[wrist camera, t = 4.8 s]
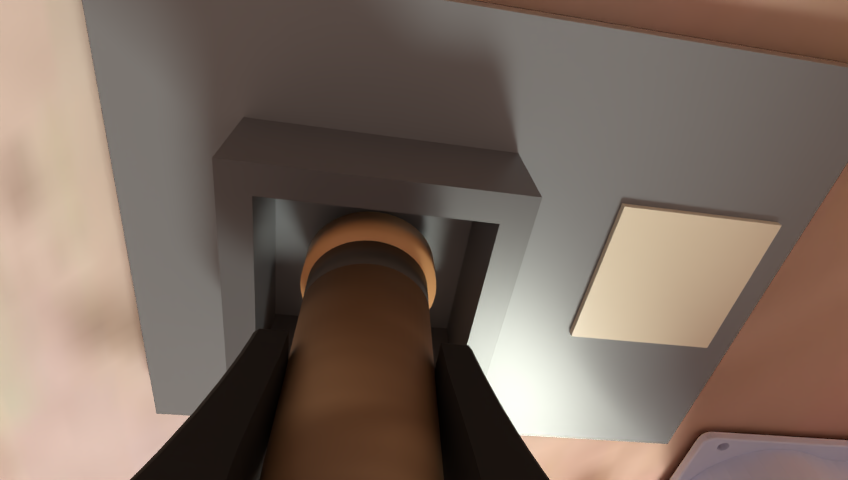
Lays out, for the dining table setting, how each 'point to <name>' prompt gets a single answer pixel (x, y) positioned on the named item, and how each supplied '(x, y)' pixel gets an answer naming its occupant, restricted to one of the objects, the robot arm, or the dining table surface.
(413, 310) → the brown cylinder
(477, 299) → the switch panel
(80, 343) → the dining table surface
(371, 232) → the breaker button
